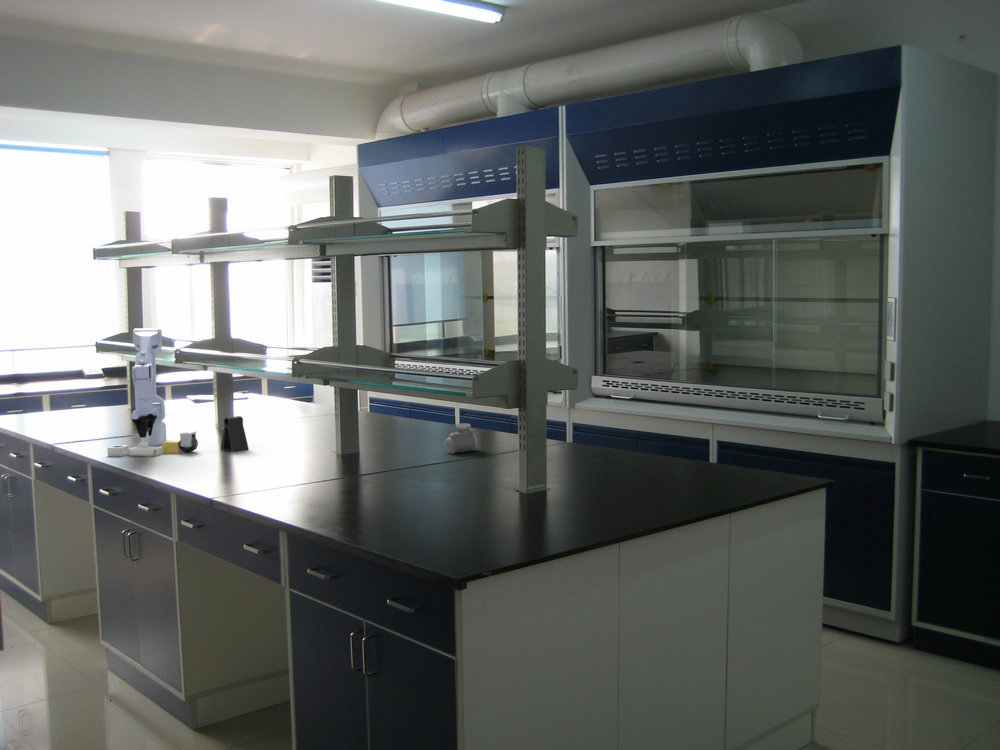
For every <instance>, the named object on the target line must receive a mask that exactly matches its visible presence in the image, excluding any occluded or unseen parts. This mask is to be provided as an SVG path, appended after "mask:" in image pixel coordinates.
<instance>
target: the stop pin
mask: <svg viewBox="0 0 1000 750" xmlns="http://www.w3.org/2000/svg"><path fill="white" fill-rule="evenodd" d="M149 430H150V427H147V435H146V437H145V438H141V440H140V443H141V447H149Z"/></svg>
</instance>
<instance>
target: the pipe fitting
mask: <svg viewBox="0 0 1000 750" xmlns="http://www.w3.org/2000/svg"><path fill="white" fill-rule="evenodd" d="M455 427H456V431H455V432H451V433H450V434H449V437H447V438H446V439H445V440H444V448H445V451H446V452H447V453H448V454H451V455H453V454H456V453H460V452H461V453H462V452H463V451H470V452H475V451H478V450H479V449H480V448H481V444H482V443H481V442H482V441H481V437H480V434H479V432H478V431H477V430H476V429H475V428H471V427H472V426H471V424H470V423H463V422H462V423H458V424H457V425H456V426H455Z"/></svg>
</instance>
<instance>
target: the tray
mask: <svg viewBox="0 0 1000 750" xmlns="http://www.w3.org/2000/svg"><path fill="white" fill-rule="evenodd" d="M128 453H129V454H128V457H157V456H158V457H159V456H160V455H164V454H165V453H164V448H163V447H162V446H149V447H141V446H138V445H136V446H134V447H130V448H128Z"/></svg>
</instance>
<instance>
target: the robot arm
mask: <svg viewBox="0 0 1000 750" xmlns="http://www.w3.org/2000/svg"><path fill="white" fill-rule="evenodd" d="M132 341H133V345H134V348H135V349H136V351H137V353H136V355H135V360H134V366H132V368H131V374H132V375H131V376H132V381H133V387H134V401H135V402H134V403H135V405H134V406H135V410H132V413H131V414H130V419H131V420H132V422H133V423H134V425H135V428H136V430H137V433H138V437H139V438H145V437H146V435H147V427H150V430H149V446H150V447H159V446H162V442H164V441H167V426H166V423H165V422H164V421H163V420H164V419H165V418H166V408H165V401H164V399H163V398H162V397H161V396H159V395H157V374H156V373H157V368H156V367H157V366H156V364H157V363H156V362H157V361H156V356H157V353H158V352H159V351H162V347H163V343H162V342H163V333H162V329H161V328H160V327H158V328H157V327H156V328H137V327H136V328H134V329H133V331H132ZM136 446H141V442H140V443H138V444H137V445H136Z"/></svg>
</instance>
